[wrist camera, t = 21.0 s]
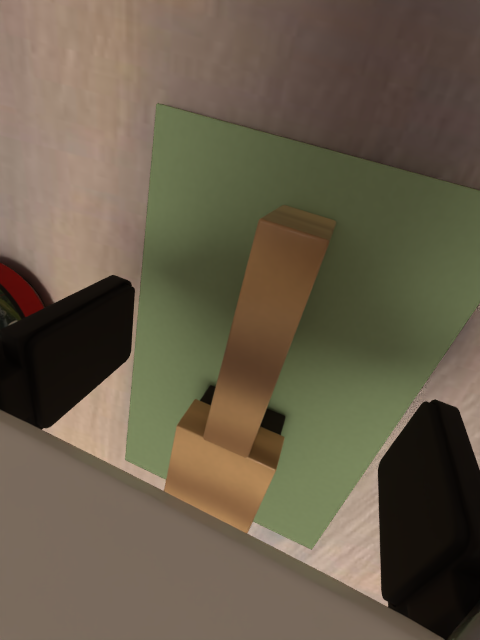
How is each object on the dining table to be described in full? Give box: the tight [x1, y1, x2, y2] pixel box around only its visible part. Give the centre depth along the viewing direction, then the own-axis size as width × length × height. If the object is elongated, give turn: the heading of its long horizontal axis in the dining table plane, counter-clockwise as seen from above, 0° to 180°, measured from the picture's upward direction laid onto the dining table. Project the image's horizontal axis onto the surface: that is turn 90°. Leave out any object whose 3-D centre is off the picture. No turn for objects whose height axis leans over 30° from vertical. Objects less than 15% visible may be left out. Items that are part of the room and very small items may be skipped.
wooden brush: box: [164, 205, 336, 533], centre depth 15 cm, size 16×5×4 cm, turn 166°
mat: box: [125, 103, 480, 549], centre depth 17 cm, size 22×14×1 cm, turn 166°
